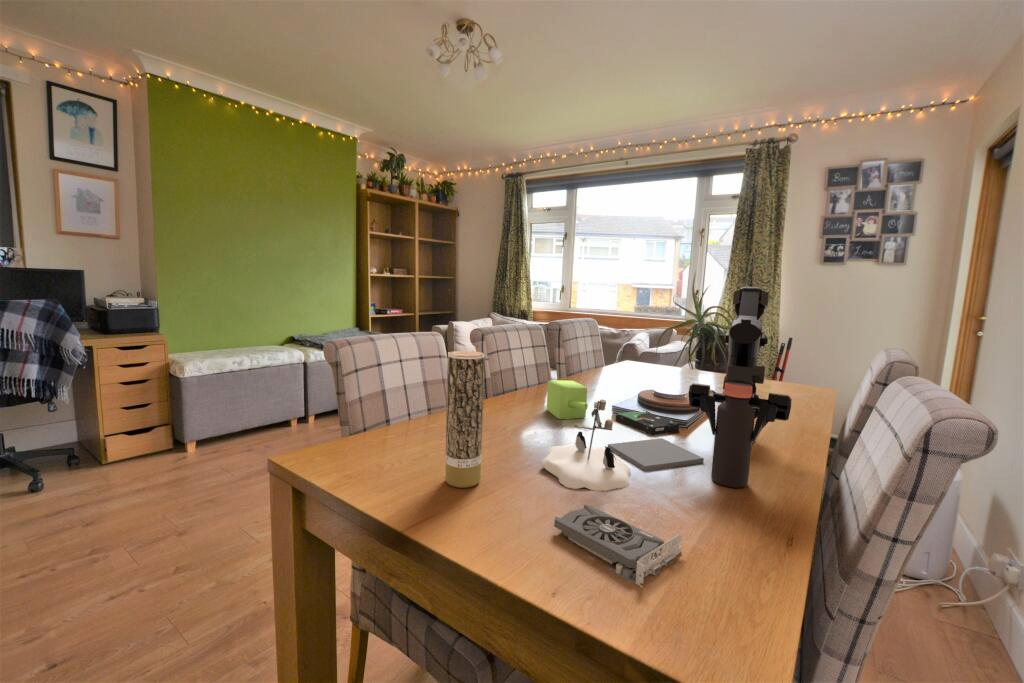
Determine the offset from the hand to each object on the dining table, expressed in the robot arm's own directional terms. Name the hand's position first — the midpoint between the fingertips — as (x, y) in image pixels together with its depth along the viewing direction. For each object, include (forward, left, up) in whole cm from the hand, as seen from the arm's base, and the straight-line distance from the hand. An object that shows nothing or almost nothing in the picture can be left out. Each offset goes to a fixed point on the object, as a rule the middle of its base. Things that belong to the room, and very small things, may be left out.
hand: (733, 437), depth 92 cm
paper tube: (+50, -17, -10) cm, 54 cm away
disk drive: (-9, -38, -10) cm, 40 cm away
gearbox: (+7, -53, -10) cm, 54 cm away
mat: (+4, -18, -10) cm, 21 cm away
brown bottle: (-1, -1, -10) cm, 10 cm away
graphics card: (+34, +11, -11) cm, 37 cm away
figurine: (+24, -15, -10) cm, 30 cm away
